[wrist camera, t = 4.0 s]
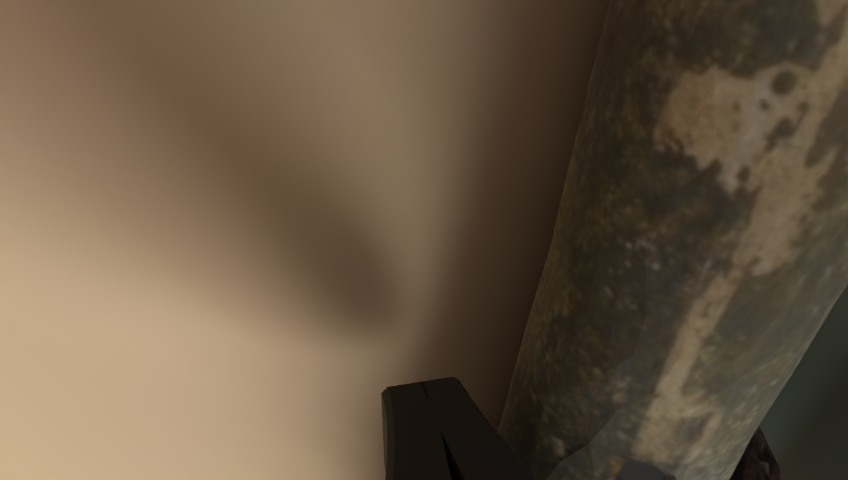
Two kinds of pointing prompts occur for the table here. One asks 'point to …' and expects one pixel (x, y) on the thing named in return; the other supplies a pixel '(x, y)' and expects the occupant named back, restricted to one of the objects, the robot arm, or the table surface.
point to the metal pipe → (688, 242)
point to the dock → (815, 407)
